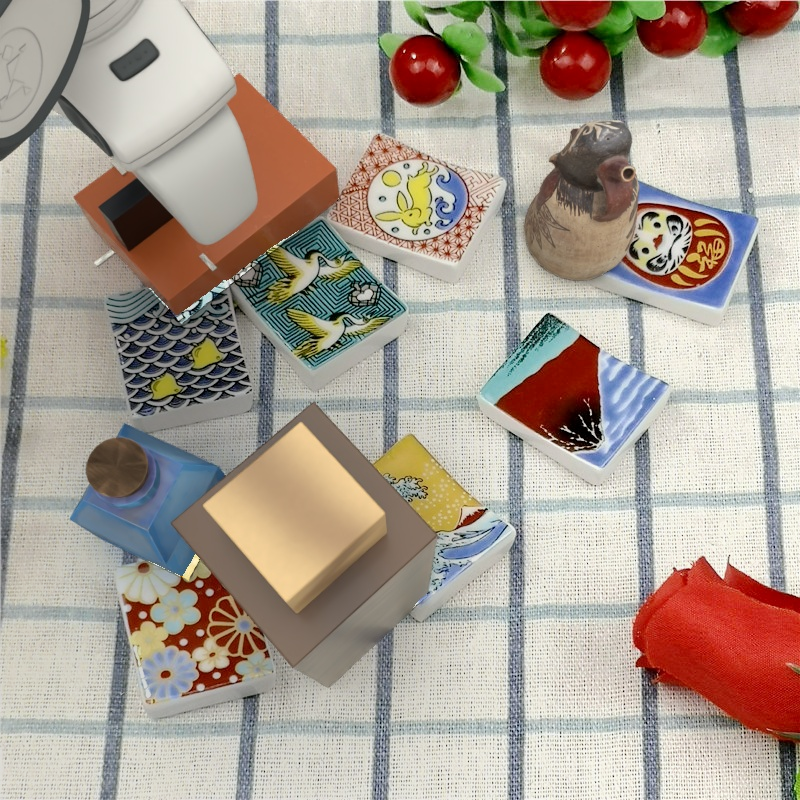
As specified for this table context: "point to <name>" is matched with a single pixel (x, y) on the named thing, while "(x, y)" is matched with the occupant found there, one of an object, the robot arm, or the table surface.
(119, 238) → the black battery block
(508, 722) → the table surface
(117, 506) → the perfume bottle
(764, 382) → the table surface
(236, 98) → the block
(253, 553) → the wood block
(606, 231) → the figurine
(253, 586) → the block
